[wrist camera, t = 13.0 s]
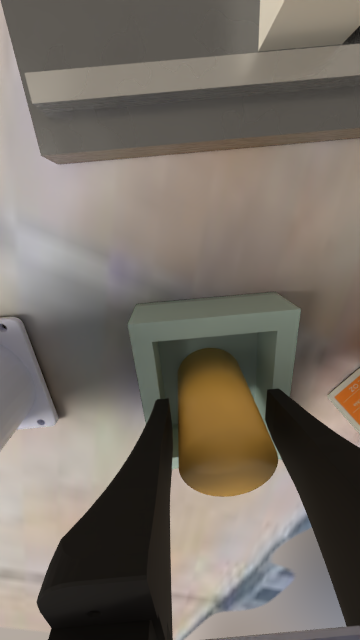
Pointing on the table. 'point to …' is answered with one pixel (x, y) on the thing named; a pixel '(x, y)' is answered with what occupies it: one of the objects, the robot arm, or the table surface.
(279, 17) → the lever
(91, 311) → the table surface
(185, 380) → the cap
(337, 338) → the table surface
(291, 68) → the box
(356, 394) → the skincare box
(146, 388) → the green rectangular tray
